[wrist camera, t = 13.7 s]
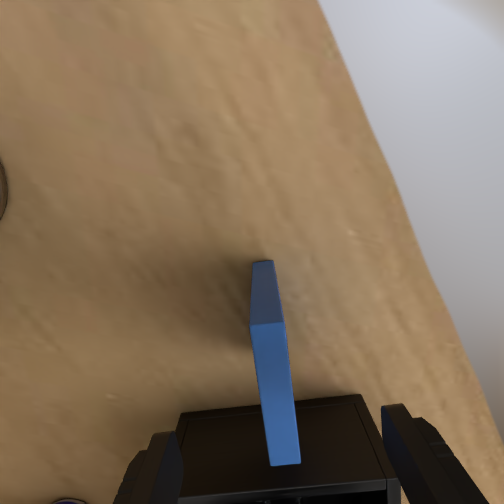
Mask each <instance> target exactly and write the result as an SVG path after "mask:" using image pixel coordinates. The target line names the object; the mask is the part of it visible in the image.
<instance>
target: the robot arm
mask: <svg viewBox="0 0 504 504" xmlns="http://www.w3.org/2000/svg"><path fill="white" fill-rule="evenodd" d="M6 202H7V183H6V178H5V174H4V170H3V167H2V165H1V162H0V219H1V217H2V215H3V213H4V210H5V206H6ZM381 421H382V439H383V444H384V448H385V451H386V454H387V456H388V459H389V461H390V463H391V465H392V467H393V469H394V471H395V473H396V476H397V478H398V480H399V482H400V484H401V486H402V488H403V490H404V492H405V495H406V497H407V499H408V501H409V503H410V504H489V503H488V501H487V500H486V499H485V497H484V496H483V494H482V493H481V491H480V490H479V489H478V487H477V486H476V484H475V483H474V482H473V480H472V479H471V477H470V476H469V475H468V473H467V472H466V470H465V469H464V468H463V466H462V465H461V463H460V462H459V460H458V459H457V458H456V456H454V453H453V452H452V451H451V449H450V448H449V446H448V445H446V443H445V441H444V439H443V438H442V437H441V435H440V434H439V432H438V431H437V429H436V428H435V427H433V426H432V425H431V424H430V423H428V422H427V421H426V420H425V419H423V418H422V417H419V418H412V417H411V415H410V413H409V412H408V410H407V409H406V407H405V406H404V405H403V404H402V403H401V404H393V405H384V406H381ZM182 480H183V460H182V456H181V452H180V449H179V445H178V441H177V438H176V434H175V432H174V431H169V432H161V433H155V434H153V436H152V438H151V441H150V443H149V446H148V448H147V450H142V451H139V452H138V454H137V455H136V456H135V457H134V459H133V460H132V461H131V463H130V464H129V466H128V468H127V471H126V473H125V475H124V478H123V482H122V483H121V485H120V487H119V490H118V494H117V495H116V497H115V499H114V502H113V504H177V503H178V498H179V494H180V489H181V485H182Z"/></svg>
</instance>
